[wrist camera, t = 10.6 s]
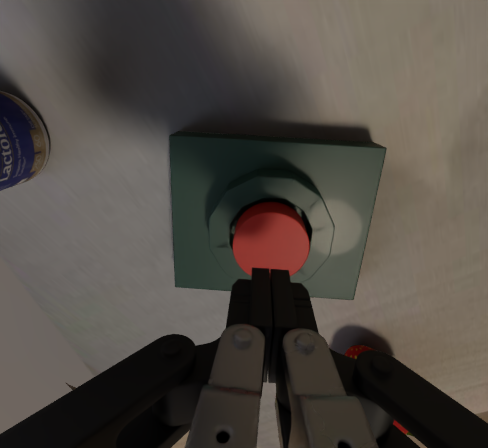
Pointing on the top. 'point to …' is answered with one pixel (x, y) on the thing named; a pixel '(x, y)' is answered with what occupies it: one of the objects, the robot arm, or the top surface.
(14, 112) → the pill bottle
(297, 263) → the button
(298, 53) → the top surface
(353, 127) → the top surface
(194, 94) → the top surface
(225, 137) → the button block
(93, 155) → the top surface
